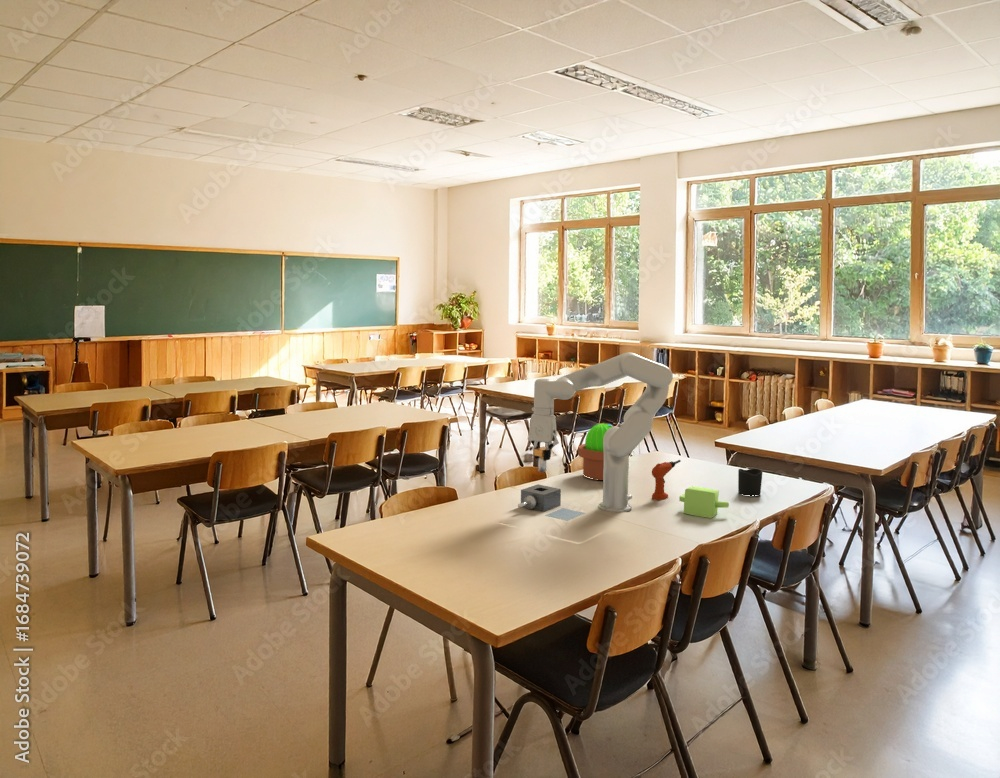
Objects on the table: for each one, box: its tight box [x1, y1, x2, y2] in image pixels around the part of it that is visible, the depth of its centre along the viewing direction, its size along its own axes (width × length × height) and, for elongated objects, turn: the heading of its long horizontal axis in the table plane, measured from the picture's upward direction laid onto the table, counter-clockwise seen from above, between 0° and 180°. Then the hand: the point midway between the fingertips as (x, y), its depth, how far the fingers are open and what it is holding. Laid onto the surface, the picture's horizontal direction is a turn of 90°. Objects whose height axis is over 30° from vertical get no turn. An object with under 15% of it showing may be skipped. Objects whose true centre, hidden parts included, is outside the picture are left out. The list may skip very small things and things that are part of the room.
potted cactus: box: [577, 422, 615, 480], centre depth 332 cm, size 22×22×25 cm
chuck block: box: [517, 483, 562, 513], centre depth 282 cm, size 19×11×7 cm, turn 141°
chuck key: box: [533, 446, 547, 473], centre depth 282 cm, size 6×4×9 cm, turn 142°
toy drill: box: [651, 459, 682, 501], centre depth 302 cm, size 5×19×15 cm, turn 132°
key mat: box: [545, 508, 586, 521], centre depth 275 cm, size 12×10×1 cm
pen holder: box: [737, 468, 763, 496], centre depth 305 cm, size 9×9×10 cm
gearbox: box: [678, 485, 730, 519], centre depth 278 cm, size 18×10×10 cm, turn 59°
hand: (542, 458), depth 282 cm, fingers closed on chuck key, 3 cm apart
